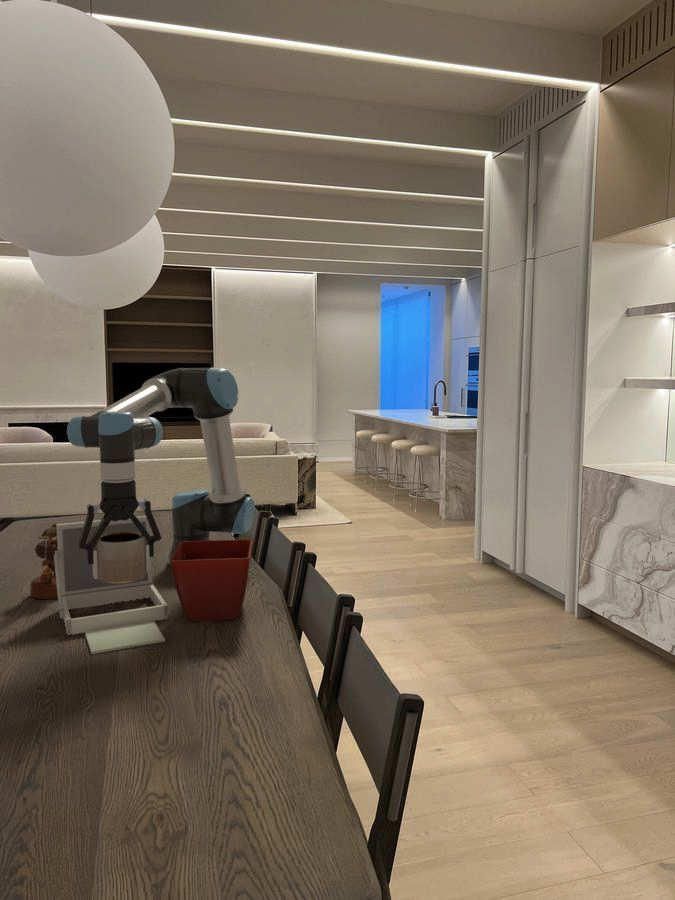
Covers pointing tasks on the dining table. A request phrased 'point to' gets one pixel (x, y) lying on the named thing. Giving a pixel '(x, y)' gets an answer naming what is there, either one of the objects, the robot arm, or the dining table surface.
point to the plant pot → (211, 578)
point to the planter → (121, 557)
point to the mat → (123, 637)
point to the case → (99, 582)
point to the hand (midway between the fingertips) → (121, 574)
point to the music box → (47, 581)
